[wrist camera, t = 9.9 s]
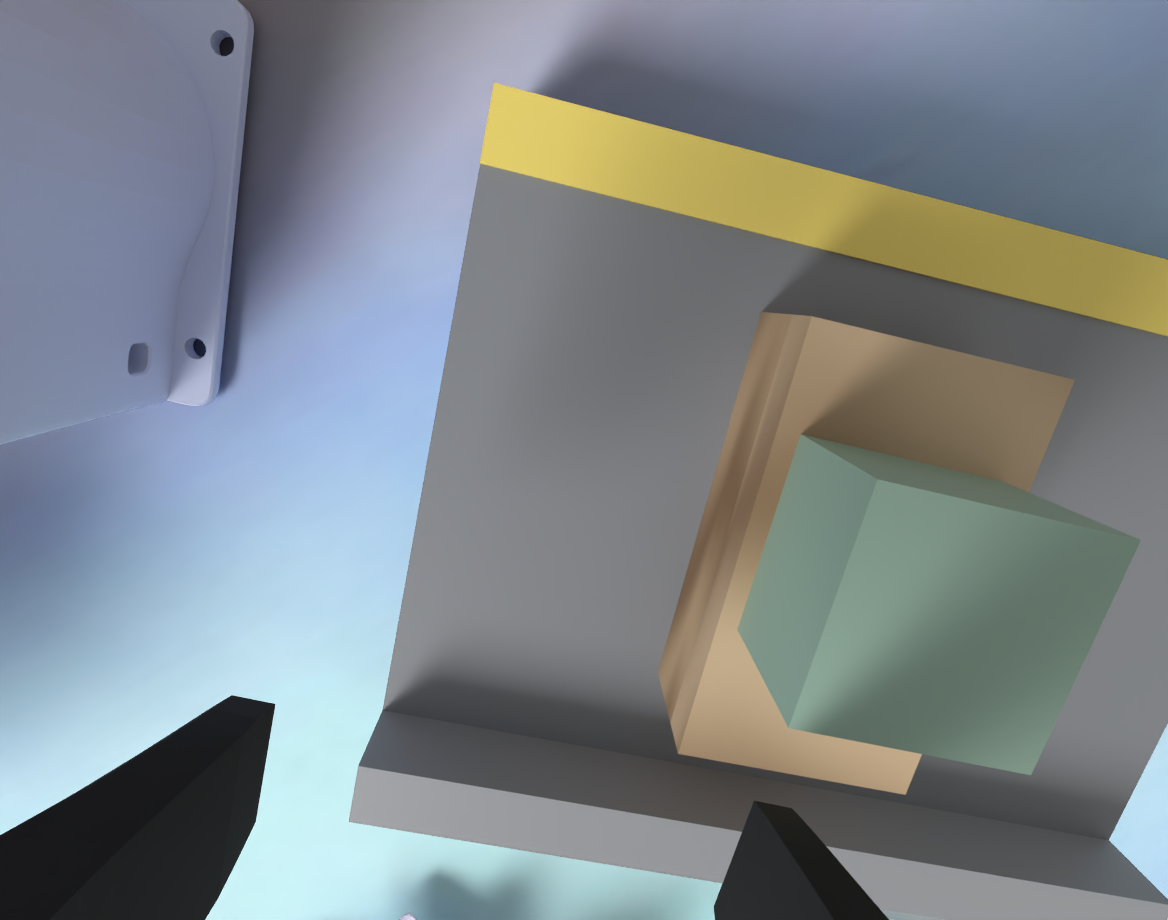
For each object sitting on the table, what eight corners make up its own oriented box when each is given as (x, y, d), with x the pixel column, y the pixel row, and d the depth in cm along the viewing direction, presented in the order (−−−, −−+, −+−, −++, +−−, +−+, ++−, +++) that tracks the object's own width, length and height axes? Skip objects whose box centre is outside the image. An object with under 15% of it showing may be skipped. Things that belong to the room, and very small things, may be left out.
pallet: (846, 708, 17) (904, 794, 14) (657, 671, 16) (678, 754, 13) (973, 363, 15) (1075, 379, 12) (761, 311, 14) (812, 316, 11)
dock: (1015, 803, 21) (1148, 952, 16) (401, 691, 20) (348, 821, 15) (1239, 311, 18) (1497, 318, 13) (507, 122, 16) (482, 47, 11)
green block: (927, 669, 13) (1031, 775, 10) (737, 629, 13) (788, 728, 10) (1003, 481, 12) (1140, 539, 9) (800, 434, 12) (877, 479, 9)
